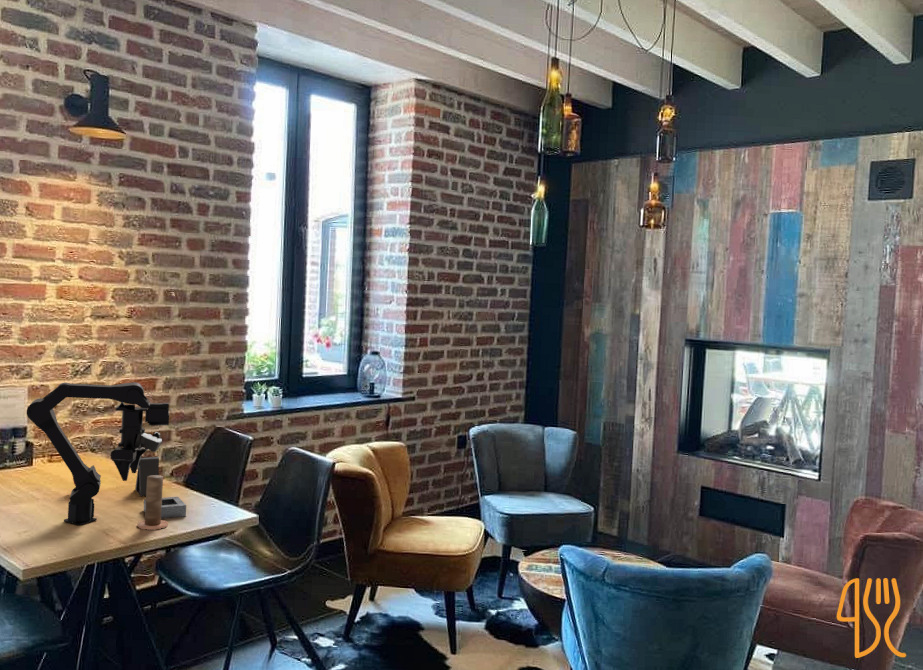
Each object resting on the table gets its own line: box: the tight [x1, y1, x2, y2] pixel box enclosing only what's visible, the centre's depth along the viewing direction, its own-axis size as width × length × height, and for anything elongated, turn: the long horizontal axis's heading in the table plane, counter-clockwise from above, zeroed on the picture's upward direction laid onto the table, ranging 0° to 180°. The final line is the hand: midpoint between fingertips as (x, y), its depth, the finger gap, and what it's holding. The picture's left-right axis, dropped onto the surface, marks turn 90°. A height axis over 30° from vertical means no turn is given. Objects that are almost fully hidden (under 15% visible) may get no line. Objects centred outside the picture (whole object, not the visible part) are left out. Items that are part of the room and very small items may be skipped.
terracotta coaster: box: [136, 519, 169, 531], centre depth 232 cm, size 8×8×1 cm
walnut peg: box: [144, 474, 164, 526], centre depth 232 cm, size 4×4×14 cm
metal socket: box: [143, 496, 187, 520], centre depth 245 cm, size 10×10×4 cm
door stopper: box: [134, 456, 160, 497], centre depth 265 cm, size 9×6×12 cm, turn 33°
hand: (129, 476), depth 235 cm, fingers open, 9 cm apart
